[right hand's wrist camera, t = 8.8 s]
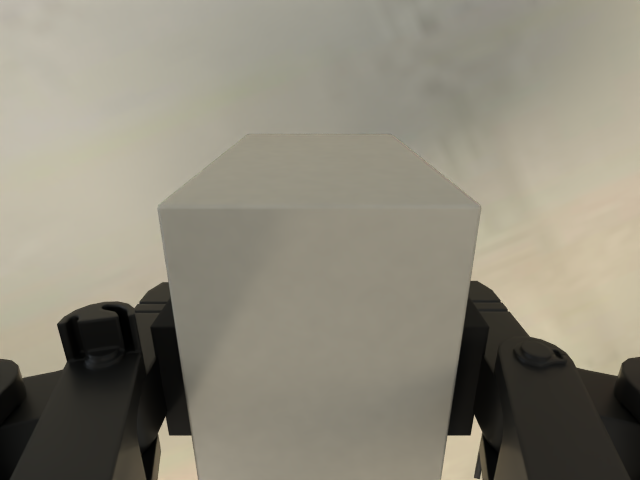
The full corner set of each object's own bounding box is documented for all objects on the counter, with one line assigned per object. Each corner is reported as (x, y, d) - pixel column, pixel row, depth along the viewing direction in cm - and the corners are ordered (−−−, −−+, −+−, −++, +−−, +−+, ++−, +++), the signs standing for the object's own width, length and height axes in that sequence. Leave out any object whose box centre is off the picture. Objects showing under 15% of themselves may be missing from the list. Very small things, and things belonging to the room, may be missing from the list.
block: (392, 133, 14) (483, 205, 6) (380, 329, 17) (432, 546, 9) (246, 133, 14) (154, 205, 6) (259, 329, 17) (206, 546, 9)
